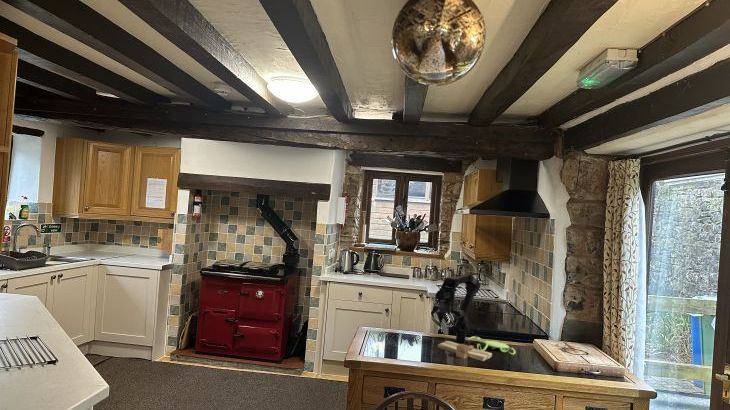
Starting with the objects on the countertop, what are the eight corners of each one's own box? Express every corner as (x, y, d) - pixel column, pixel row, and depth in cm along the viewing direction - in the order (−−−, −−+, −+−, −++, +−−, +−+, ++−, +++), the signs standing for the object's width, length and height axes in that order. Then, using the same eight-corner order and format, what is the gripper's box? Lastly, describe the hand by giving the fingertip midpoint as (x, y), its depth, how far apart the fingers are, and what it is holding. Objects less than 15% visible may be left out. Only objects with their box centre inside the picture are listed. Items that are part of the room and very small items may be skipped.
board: (447, 344, 284) (447, 340, 284) (491, 356, 267) (492, 353, 267) (437, 347, 275) (438, 344, 275) (482, 361, 257) (483, 357, 257)
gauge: (467, 351, 273) (468, 340, 273) (476, 353, 270) (476, 343, 270) (455, 356, 261) (456, 345, 261) (463, 359, 258) (464, 348, 258)
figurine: (465, 343, 291) (466, 334, 291) (507, 346, 292) (508, 337, 292) (473, 352, 273) (474, 343, 273) (517, 356, 274) (518, 346, 274)
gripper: (429, 297, 281) (426, 323, 281) (457, 303, 269) (455, 331, 270) (438, 295, 290) (435, 320, 290) (466, 301, 278) (463, 328, 278)
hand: (447, 325), depth 282 cm, fingers open, 9 cm apart
